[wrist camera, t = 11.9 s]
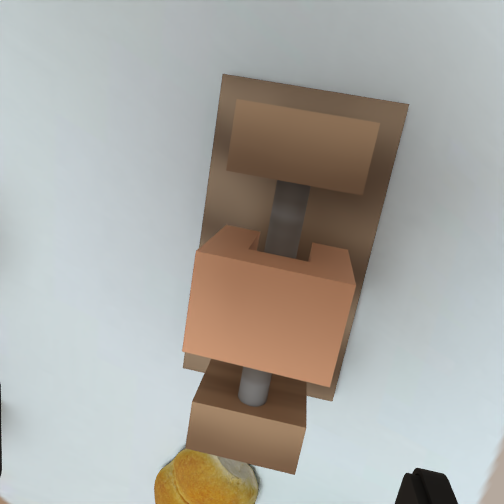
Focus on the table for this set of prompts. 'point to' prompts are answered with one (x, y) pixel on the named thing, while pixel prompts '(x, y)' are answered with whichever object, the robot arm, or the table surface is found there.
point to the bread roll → (205, 480)
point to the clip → (269, 306)
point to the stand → (287, 237)
